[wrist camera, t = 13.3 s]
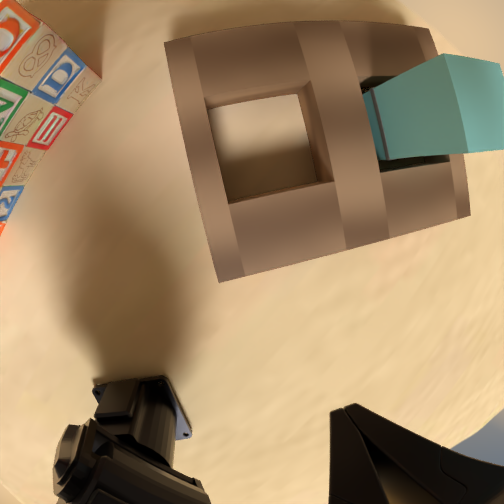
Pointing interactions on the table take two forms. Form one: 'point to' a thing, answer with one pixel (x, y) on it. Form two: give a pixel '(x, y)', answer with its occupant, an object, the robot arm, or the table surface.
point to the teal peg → (438, 109)
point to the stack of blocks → (33, 96)
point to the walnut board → (320, 138)
